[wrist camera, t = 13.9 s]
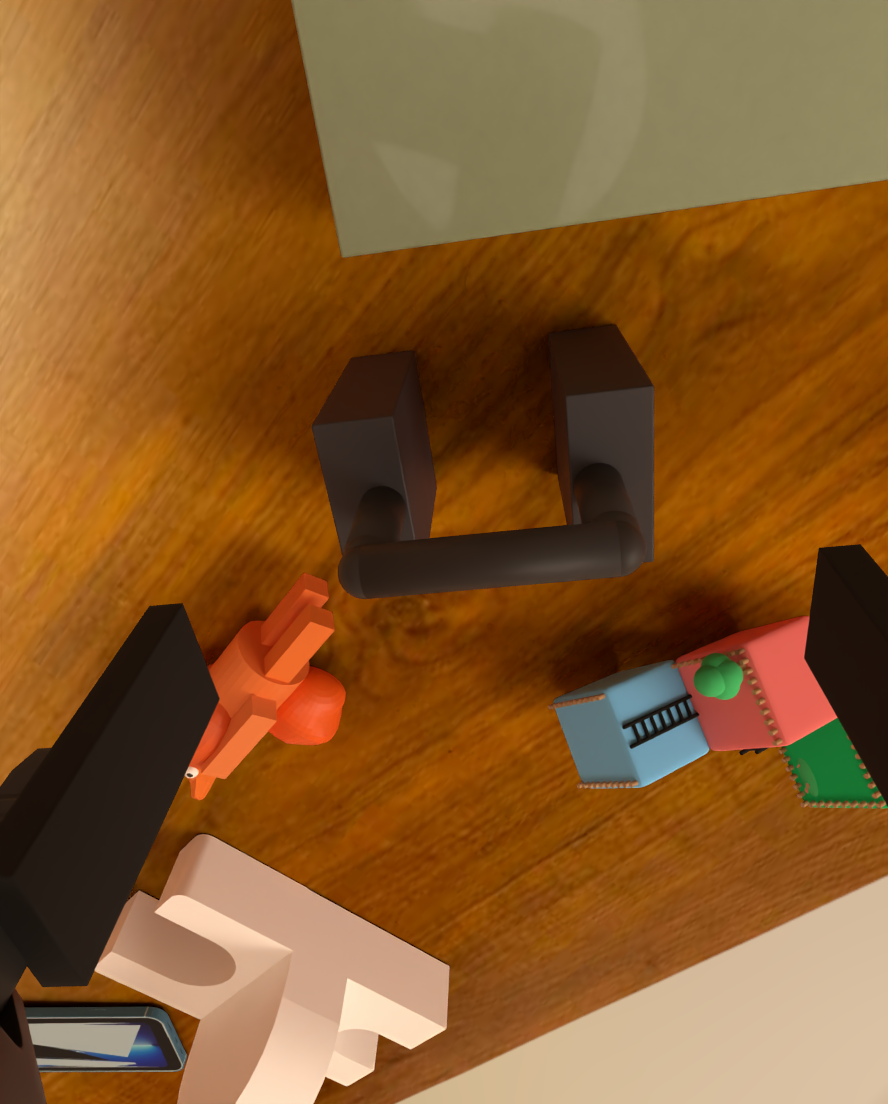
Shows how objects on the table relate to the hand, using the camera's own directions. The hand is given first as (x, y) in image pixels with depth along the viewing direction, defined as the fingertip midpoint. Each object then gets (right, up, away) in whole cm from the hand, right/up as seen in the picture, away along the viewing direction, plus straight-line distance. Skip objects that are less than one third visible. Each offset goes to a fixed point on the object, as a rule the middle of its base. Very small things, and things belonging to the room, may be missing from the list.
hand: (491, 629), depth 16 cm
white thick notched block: (-11, -22, +30) cm, 39 cm away
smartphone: (-27, -32, +37) cm, 56 cm away
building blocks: (+12, -4, +18) cm, 22 cm away
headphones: (+1, +7, +12) cm, 14 cm away
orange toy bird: (-9, -3, +19) cm, 21 cm away
